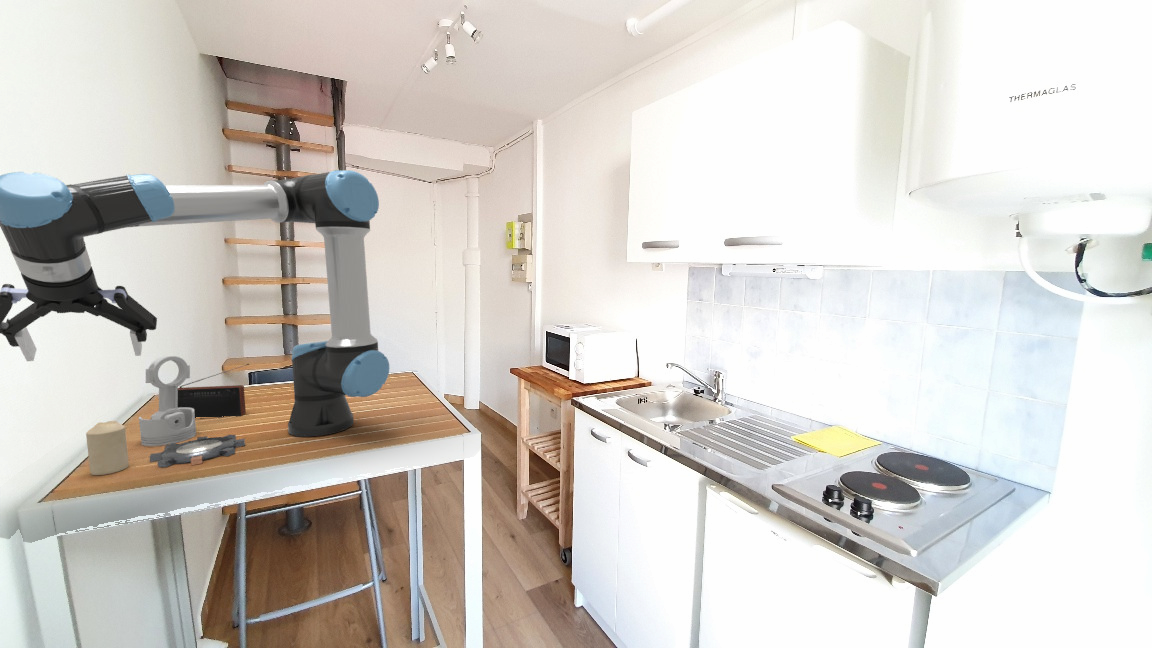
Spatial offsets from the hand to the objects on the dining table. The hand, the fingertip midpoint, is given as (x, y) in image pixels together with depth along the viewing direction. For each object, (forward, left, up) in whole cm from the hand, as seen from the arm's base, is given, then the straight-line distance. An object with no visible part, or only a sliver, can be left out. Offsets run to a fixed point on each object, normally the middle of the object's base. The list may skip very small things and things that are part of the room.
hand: (88, 352), depth 83 cm
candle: (+6, -6, -26) cm, 27 cm away
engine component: (+13, -23, -26) cm, 37 cm away
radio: (+19, -40, -26) cm, 51 cm away
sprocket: (-3, -17, -26) cm, 31 cm away
